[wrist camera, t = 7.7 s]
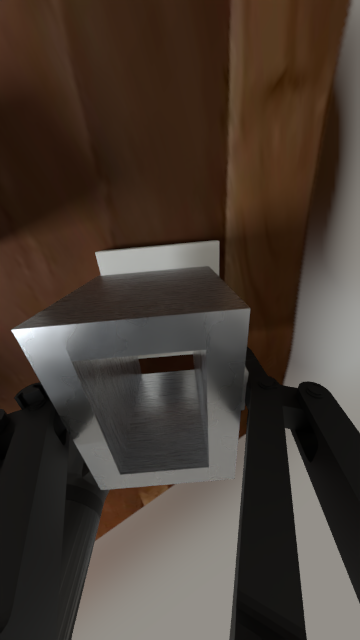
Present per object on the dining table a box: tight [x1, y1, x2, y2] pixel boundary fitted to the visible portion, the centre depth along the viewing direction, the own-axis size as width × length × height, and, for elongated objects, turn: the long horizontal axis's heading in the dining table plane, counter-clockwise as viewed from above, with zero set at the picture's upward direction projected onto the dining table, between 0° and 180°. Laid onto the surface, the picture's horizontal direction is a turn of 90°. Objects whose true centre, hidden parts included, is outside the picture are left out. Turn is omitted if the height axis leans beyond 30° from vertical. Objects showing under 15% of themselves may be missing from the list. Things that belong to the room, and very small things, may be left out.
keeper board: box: [95, 240, 219, 359], centre depth 19 cm, size 13×12×7 cm
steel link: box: [12, 266, 250, 490], centre depth 12 cm, size 11×8×8 cm
